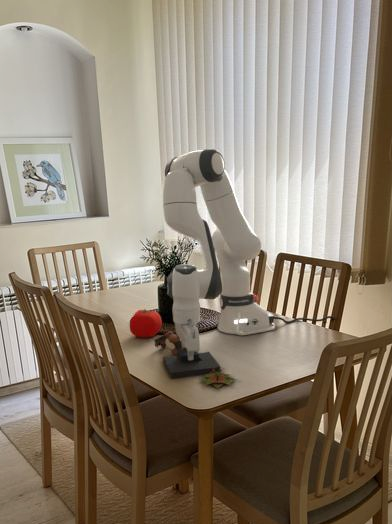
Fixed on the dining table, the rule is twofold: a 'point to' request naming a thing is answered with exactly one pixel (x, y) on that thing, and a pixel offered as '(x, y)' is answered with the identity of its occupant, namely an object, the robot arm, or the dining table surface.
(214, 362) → the notched mat
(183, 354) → the pad
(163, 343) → the brown animal figurine
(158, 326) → the tomato
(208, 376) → the lily flower
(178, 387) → the dining table surface
